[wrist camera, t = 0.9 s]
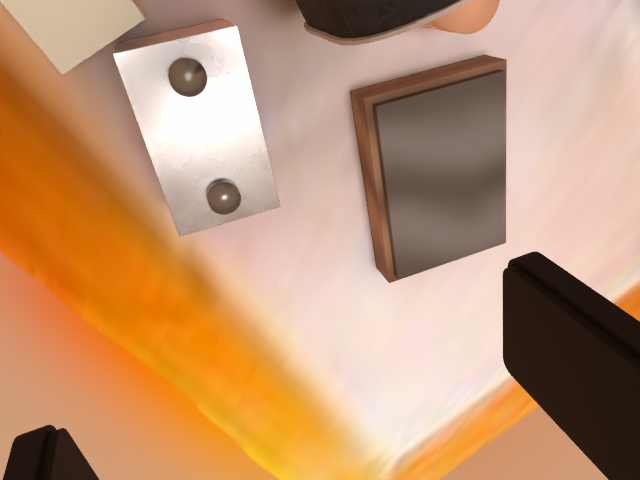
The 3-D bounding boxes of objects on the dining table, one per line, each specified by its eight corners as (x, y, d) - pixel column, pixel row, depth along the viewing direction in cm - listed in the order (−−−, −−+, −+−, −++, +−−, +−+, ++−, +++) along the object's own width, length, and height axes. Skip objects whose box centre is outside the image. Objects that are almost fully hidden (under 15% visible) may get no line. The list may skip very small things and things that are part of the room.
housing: (116, 42, 28) (112, 56, 23) (222, 18, 29) (239, 27, 24) (174, 202, 33) (180, 242, 28) (262, 177, 34) (283, 211, 29)
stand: (350, 91, 33) (367, 100, 31) (485, 55, 35) (512, 60, 32) (376, 267, 40) (392, 287, 38) (487, 230, 42) (510, 246, 39)
